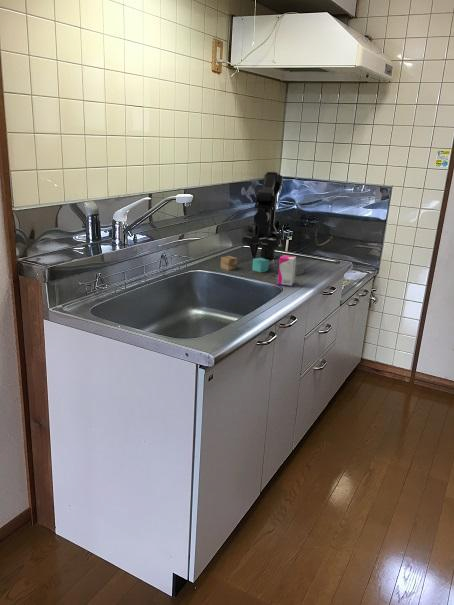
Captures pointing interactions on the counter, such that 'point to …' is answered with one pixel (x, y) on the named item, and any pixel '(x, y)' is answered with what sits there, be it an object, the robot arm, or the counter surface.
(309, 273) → the counter surface
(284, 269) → the supplement box
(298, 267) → the charcoal cube
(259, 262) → the teal cube
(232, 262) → the walnut cube
